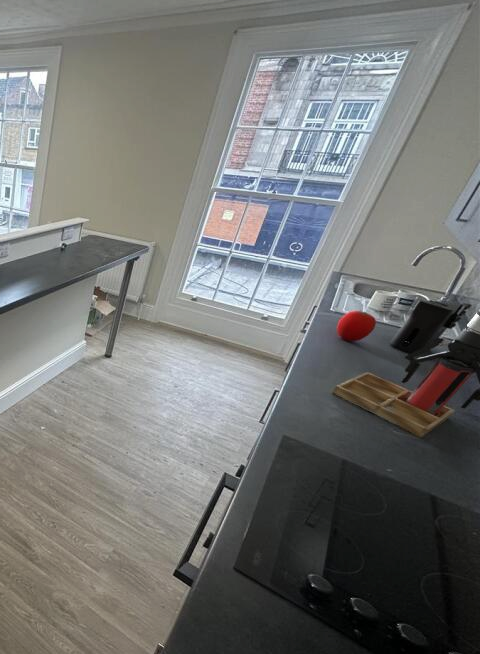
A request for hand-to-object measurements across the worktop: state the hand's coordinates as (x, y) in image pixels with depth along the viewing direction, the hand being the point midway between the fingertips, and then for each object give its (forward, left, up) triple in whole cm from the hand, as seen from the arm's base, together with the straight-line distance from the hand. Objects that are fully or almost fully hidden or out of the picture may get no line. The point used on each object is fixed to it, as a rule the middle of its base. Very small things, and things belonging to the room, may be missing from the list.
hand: (432, 394), depth 121 cm
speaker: (0, 0, -6) cm, 6 cm away
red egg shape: (+35, -40, -7) cm, 53 cm away
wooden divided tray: (+6, +6, -7) cm, 11 cm away
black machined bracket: (+20, -61, -7) cm, 65 cm away
